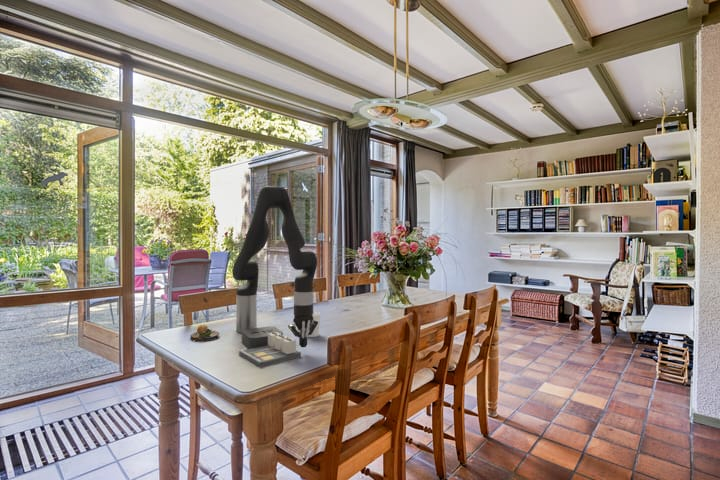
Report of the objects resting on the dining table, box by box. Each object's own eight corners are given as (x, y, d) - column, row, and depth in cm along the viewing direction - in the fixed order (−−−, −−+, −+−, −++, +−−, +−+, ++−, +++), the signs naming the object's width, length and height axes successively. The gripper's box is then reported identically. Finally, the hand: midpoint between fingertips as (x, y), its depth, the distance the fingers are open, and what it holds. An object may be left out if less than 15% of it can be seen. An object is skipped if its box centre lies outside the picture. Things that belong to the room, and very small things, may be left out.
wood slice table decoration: (222, 339, 164) (222, 322, 164) (194, 343, 157) (194, 326, 157) (214, 332, 174) (214, 316, 174) (187, 337, 167) (187, 320, 166)
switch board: (239, 355, 143) (239, 350, 143) (278, 346, 154) (278, 341, 154) (259, 367, 131) (259, 361, 131) (300, 356, 142) (300, 351, 142)
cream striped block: (281, 351, 142) (281, 338, 142) (290, 349, 144) (290, 336, 144) (287, 354, 139) (287, 340, 139) (295, 352, 142) (296, 338, 142)
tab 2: (274, 348, 146) (274, 335, 146) (283, 346, 149) (283, 333, 148) (279, 350, 143) (279, 337, 143) (288, 348, 146) (288, 335, 146)
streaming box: (250, 351, 148) (250, 338, 148) (240, 342, 160) (240, 330, 160) (284, 345, 156) (284, 333, 156) (273, 337, 168) (273, 325, 168)
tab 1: (267, 344, 150) (267, 332, 150) (276, 343, 153) (276, 330, 152) (272, 347, 147) (272, 334, 147) (280, 345, 150) (281, 332, 150)
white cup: (299, 336, 169) (299, 314, 169) (307, 332, 176) (308, 311, 176) (314, 338, 166) (314, 316, 166) (322, 334, 173) (323, 312, 173)
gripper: (312, 299, 153) (311, 341, 153) (283, 303, 144) (283, 347, 144) (323, 302, 147) (322, 345, 148) (294, 306, 138) (293, 352, 139)
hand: (303, 346), depth 146 cm, fingers closed
